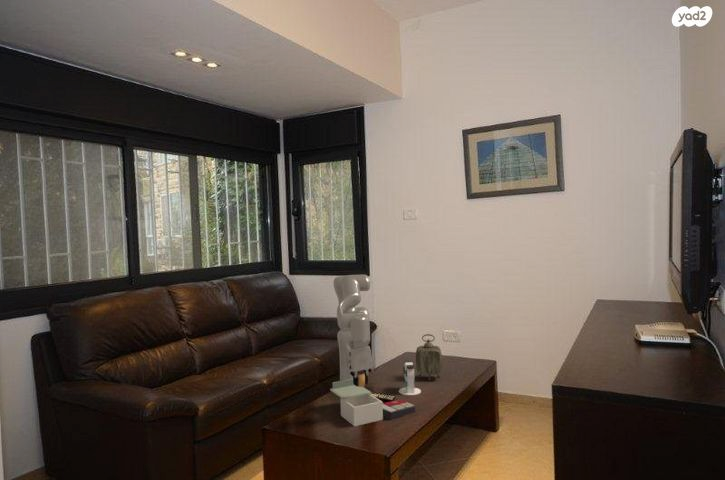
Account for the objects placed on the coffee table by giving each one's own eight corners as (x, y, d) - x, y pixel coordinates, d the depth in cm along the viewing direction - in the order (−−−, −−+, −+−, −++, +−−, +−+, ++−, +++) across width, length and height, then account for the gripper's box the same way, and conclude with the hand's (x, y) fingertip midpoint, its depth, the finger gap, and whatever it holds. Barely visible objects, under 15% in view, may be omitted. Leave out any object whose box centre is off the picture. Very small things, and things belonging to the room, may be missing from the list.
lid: (330, 390, 227) (330, 382, 227) (357, 385, 234) (357, 377, 234) (342, 399, 214) (342, 391, 214) (371, 393, 221) (371, 386, 221)
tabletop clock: (442, 376, 270) (440, 332, 269) (443, 381, 261) (442, 336, 260) (416, 376, 271) (415, 332, 271) (416, 381, 262) (415, 336, 262)
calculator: (415, 404, 219) (390, 411, 210) (415, 414, 219) (390, 420, 210) (400, 398, 228) (375, 404, 219) (399, 407, 228) (374, 413, 219)
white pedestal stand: (397, 388, 253) (396, 359, 252) (418, 387, 254) (417, 358, 253) (400, 395, 241) (399, 366, 240) (422, 394, 242) (422, 365, 241)
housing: (340, 415, 217) (340, 398, 217) (368, 409, 224) (367, 392, 224) (354, 426, 205) (353, 407, 205) (382, 419, 211) (382, 401, 211)
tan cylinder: (358, 387, 211) (358, 374, 211) (354, 385, 215) (354, 371, 215) (366, 386, 213) (366, 372, 213) (362, 383, 216) (362, 370, 216)
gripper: (346, 348, 206) (347, 390, 207) (379, 343, 214) (381, 383, 214) (338, 344, 213) (340, 385, 213) (372, 340, 221) (373, 379, 221)
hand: (360, 384), depth 214 cm, fingers closed on tan cylinder, 4 cm apart
